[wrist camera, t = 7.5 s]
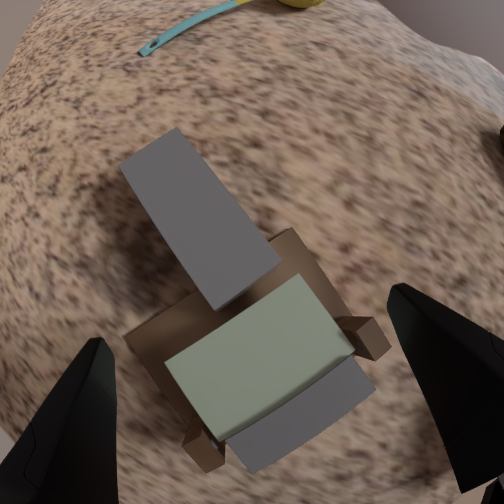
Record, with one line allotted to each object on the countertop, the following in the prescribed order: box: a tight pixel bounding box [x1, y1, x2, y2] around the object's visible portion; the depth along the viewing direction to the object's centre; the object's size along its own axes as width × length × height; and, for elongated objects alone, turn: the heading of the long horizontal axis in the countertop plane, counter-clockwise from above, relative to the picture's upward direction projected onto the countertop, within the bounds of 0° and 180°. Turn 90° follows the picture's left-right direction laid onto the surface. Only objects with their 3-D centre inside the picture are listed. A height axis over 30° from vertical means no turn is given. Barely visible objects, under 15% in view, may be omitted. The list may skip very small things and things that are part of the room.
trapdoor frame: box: [126, 227, 392, 473], centre depth 19 cm, size 15×11×6 cm
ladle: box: [139, 0, 325, 57], centre depth 27 cm, size 9×26×6 cm, turn 125°
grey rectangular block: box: [118, 127, 282, 312], centre depth 21 cm, size 4×5×12 cm
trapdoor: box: [164, 273, 376, 474], centre depth 17 cm, size 10×9×2 cm
